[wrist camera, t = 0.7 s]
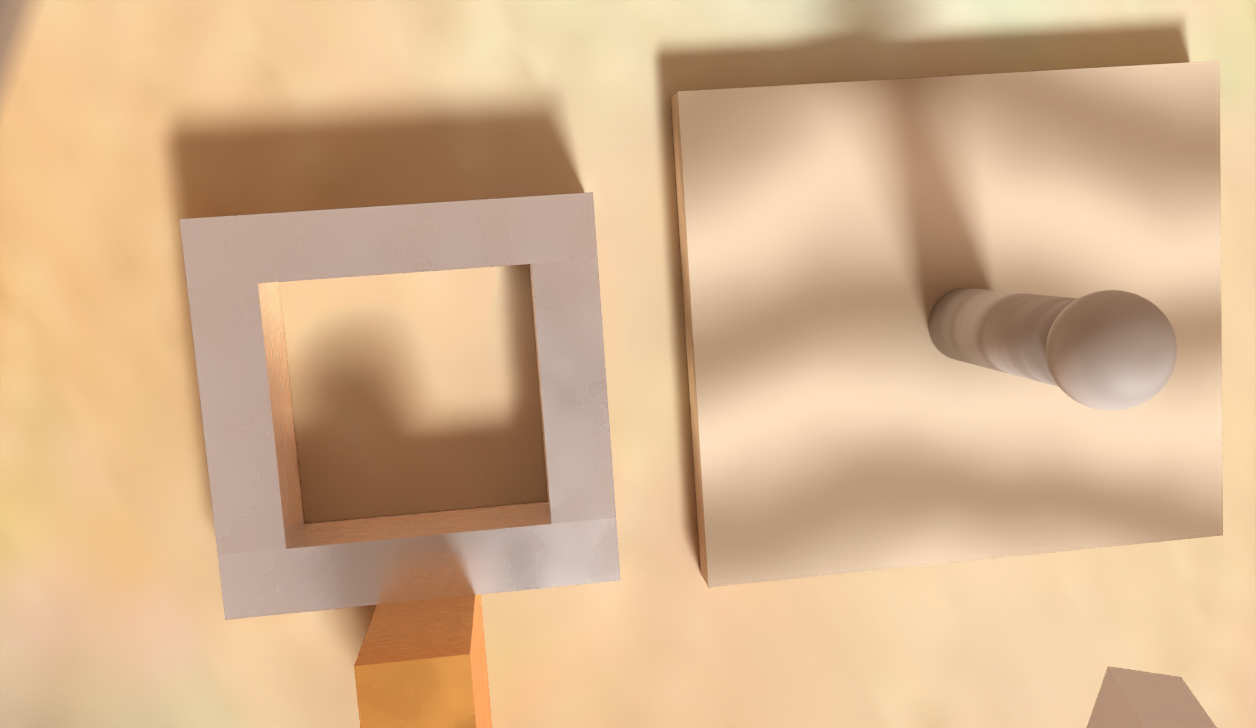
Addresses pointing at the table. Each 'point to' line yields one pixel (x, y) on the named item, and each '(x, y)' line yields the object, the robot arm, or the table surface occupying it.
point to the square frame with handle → (415, 543)
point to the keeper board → (860, 291)
